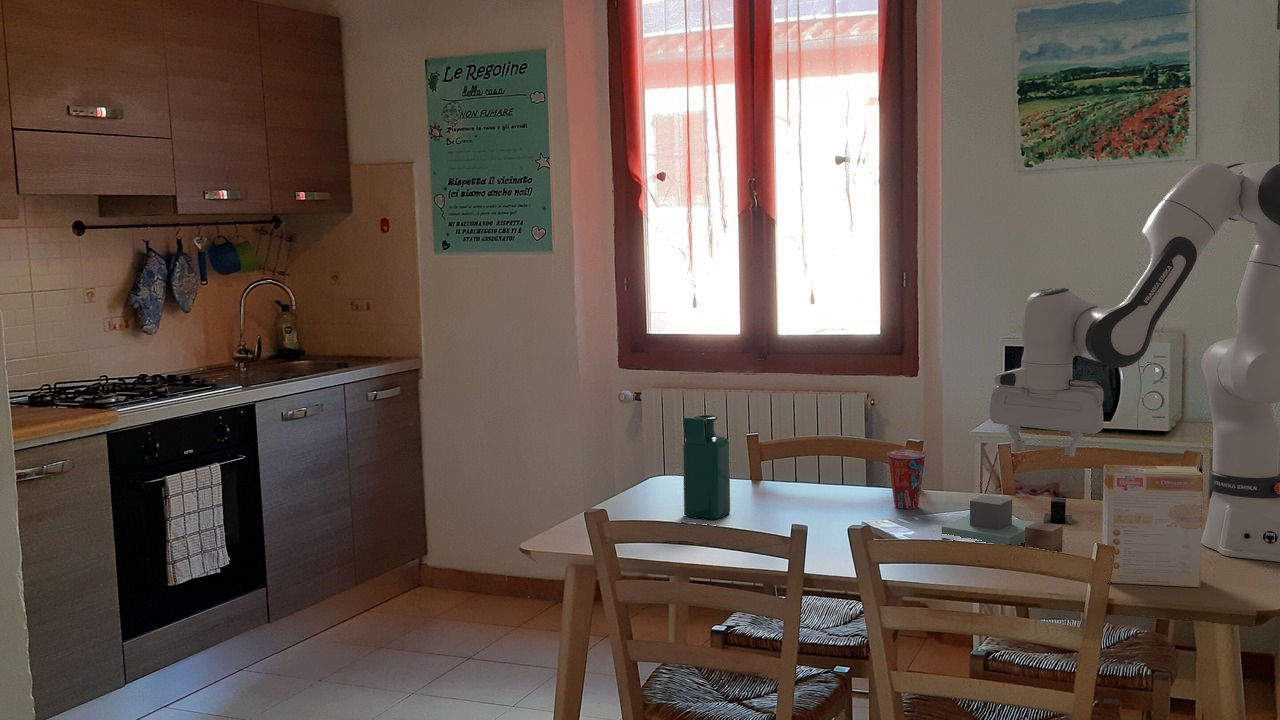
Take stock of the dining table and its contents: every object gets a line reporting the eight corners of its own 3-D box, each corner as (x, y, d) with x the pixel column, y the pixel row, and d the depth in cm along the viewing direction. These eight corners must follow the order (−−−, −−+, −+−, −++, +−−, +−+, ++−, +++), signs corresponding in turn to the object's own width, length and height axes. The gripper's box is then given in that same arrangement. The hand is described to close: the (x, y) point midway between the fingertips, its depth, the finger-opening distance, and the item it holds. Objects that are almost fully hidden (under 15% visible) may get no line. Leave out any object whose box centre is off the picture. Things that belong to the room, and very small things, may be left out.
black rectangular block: (1075, 529, 236) (1076, 507, 236) (1037, 527, 239) (1038, 505, 238) (1076, 515, 248) (1076, 494, 247) (1039, 513, 250) (1040, 492, 250)
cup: (934, 508, 254) (934, 454, 252) (901, 513, 250) (901, 458, 249) (909, 500, 262) (909, 447, 261) (877, 504, 259) (877, 451, 258)
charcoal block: (1011, 523, 229) (1012, 499, 229) (998, 530, 225) (999, 504, 224) (983, 519, 233) (983, 495, 233) (969, 525, 229) (970, 500, 228)
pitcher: (699, 508, 258) (697, 411, 256) (733, 512, 254) (732, 413, 251) (677, 518, 250) (676, 417, 247) (712, 522, 245) (711, 420, 243)
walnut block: (1062, 557, 214) (1062, 525, 214) (1051, 563, 211) (1051, 531, 210) (1035, 553, 218) (1036, 521, 217) (1024, 559, 214) (1025, 527, 213)
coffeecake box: (1192, 576, 201) (1195, 465, 199) (1201, 588, 194) (1204, 474, 192) (1100, 571, 205) (1102, 463, 203) (1105, 583, 198) (1108, 471, 196)
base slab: (1039, 535, 230) (1039, 522, 230) (1009, 550, 220) (1009, 537, 219) (973, 524, 239) (973, 512, 239) (941, 538, 229) (941, 526, 229)
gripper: (1110, 380, 206) (1108, 457, 208) (1001, 372, 220) (999, 444, 221) (1097, 384, 202) (1094, 462, 203) (986, 375, 215) (984, 448, 217)
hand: (1044, 452), depth 212 cm, fingers open, 8 cm apart
